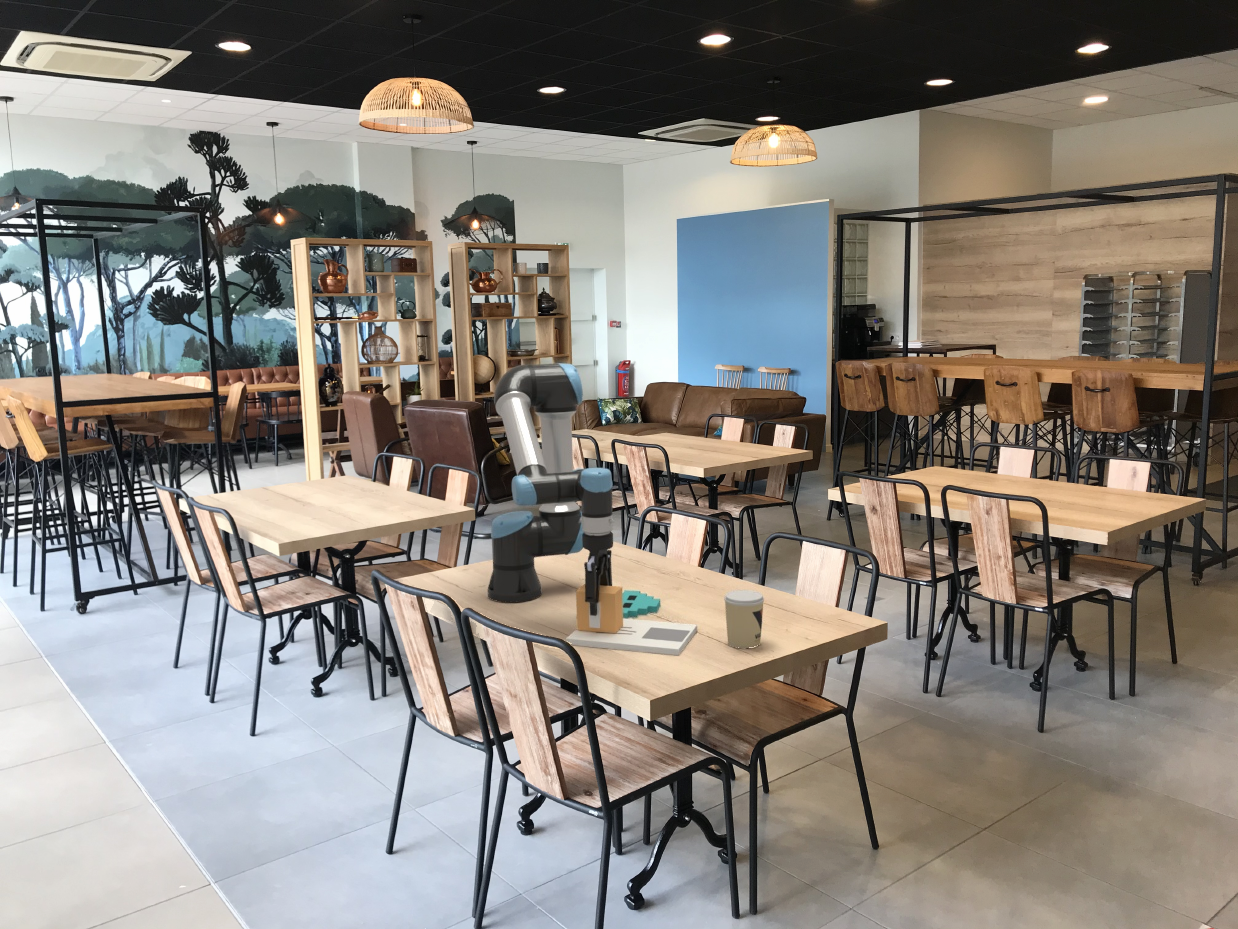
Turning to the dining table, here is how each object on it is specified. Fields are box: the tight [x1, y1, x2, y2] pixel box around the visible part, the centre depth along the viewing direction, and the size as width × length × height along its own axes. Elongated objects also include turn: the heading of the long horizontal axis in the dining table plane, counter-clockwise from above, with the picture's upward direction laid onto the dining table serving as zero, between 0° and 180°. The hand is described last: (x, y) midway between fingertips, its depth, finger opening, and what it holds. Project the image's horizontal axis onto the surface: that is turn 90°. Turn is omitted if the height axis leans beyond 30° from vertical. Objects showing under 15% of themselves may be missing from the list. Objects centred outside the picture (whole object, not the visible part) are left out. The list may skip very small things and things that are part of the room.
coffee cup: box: [724, 589, 765, 649], centre depth 232 cm, size 9×9×12 cm
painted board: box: [565, 618, 698, 656], centre depth 238 cm, size 28×18×2 cm, turn 72°
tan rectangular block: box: [575, 583, 623, 633], centre depth 240 cm, size 10×6×10 cm, turn 72°
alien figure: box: [622, 589, 661, 619], centre depth 262 cm, size 20×2×20 cm
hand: (599, 622), depth 241 cm, fingers closed on tan rectangular block, 6 cm apart
